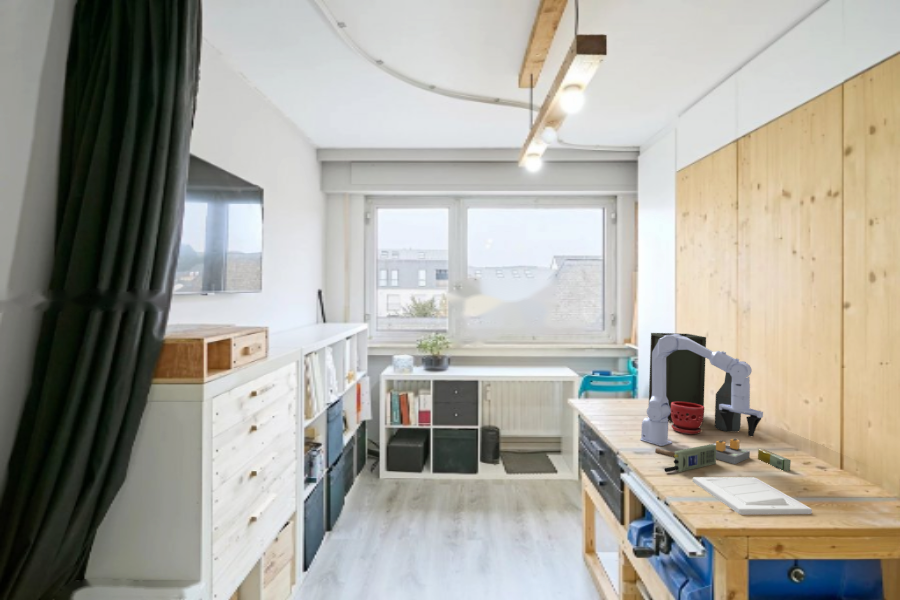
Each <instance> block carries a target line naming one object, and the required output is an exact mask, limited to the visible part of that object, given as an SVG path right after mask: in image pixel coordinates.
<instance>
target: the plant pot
mask: <svg viewBox="0 0 900 600" xmlns="http://www.w3.org/2000/svg"><path fill="white" fill-rule="evenodd" d="M686 413H688V414H689V415H688V416H686ZM692 415H693V416H692ZM704 416H705V405H704V406H702V405H699V404H694V403H688V402H672V403H671V418H672V421H671V422H672V424H671V428H672V430H674V431H676V432H678V433H681V434H683V433H684V434H687V435H697V434H700V433H701V431H702V429H701V426H702V424H703V422H704V418H705V417H704Z"/></svg>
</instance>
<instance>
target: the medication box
mask: <svg viewBox="0 0 900 600" xmlns="http://www.w3.org/2000/svg"><path fill="white" fill-rule="evenodd" d="M757 460H758V461H760V460H761V462H762V463H765V464H767V463H768V464H767V465H769V464H770V466H771V465H772V466H771V467H773V466H774V467H773V468H776V469H777V470H780V469H781V470H780V471H782V470H783V472H790V471H791V462H792V461H791V459H789V458H786V457H784V456H781V455H779V454H777V453H774V452H772V451H769V450H767V449H762V448H759V449H758V450H757Z"/></svg>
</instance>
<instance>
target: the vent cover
mask: <svg viewBox="0 0 900 600" xmlns="http://www.w3.org/2000/svg"><path fill="white" fill-rule="evenodd" d="M692 483H693V484H695V485H696V486H698V487H700V488H701V489H702V490H703V491H705V492H707V493H708V494H710V495H711V496H712V497H714V498H715V499H716V500H718V501H720V502H721V503H723V504H724V505H725V506H726V507H728V508H730V510H733V512H735V513H737V514H738V515H811V514H813V509H812V508H811V507H809V506H807V505H806V504H804V503H802V502H801V501H799V500H797V499H795V498H793V497H791V496H789V495H788V494H786V493H784V492H783V491H780V490H779V489H777V488H775V487H773V486H771V485H769V483H766V482H764V481H762V480H760V479H759V478H757V477H753V476H752V477H750V476H749V477H747V476H744V477H743V476H739V477H738V476H735V477H734V476H733V477H729V476H728V477H727V476H725V477H723V476H720V477H719V476H713V477H712V476H702V477H700V476H694V477H692Z"/></svg>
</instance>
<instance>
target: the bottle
mask: <svg viewBox="0 0 900 600" xmlns="http://www.w3.org/2000/svg"><path fill="white" fill-rule="evenodd" d="M731 383H732V376H731V375H730V373H727V372H725V377H724V382H723V384H722V385H721V387H720V388H719V389H718V391H717V392H716V393H715V401H714V403H715V406H714V409H715V410H714V427H715V429H717V430H720V431H723V432H729V433H730V432H731V433H738V431H739V432H740V431H741V421H742V414H741V413H736V412H734V415H733V421H732V431H727V429H726V425H725V422H724V419H723V417H722V416H721V414H720V412H721V411H722V410H719V404H726V405H731Z"/></svg>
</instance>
